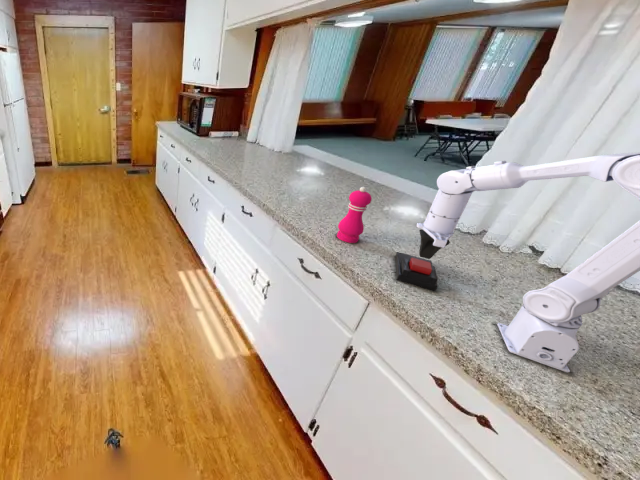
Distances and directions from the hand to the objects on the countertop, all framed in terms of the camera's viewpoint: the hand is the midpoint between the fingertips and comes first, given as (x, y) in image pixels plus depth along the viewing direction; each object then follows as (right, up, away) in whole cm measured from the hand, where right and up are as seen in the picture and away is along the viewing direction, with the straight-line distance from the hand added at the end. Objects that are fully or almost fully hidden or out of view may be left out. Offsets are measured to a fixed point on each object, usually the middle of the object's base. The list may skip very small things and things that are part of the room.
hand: (424, 256), depth 82 cm
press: (+2, -6, +6) cm, 9 cm away
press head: (0, -4, +2) cm, 4 cm away
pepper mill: (-4, +1, +23) cm, 24 cm away
